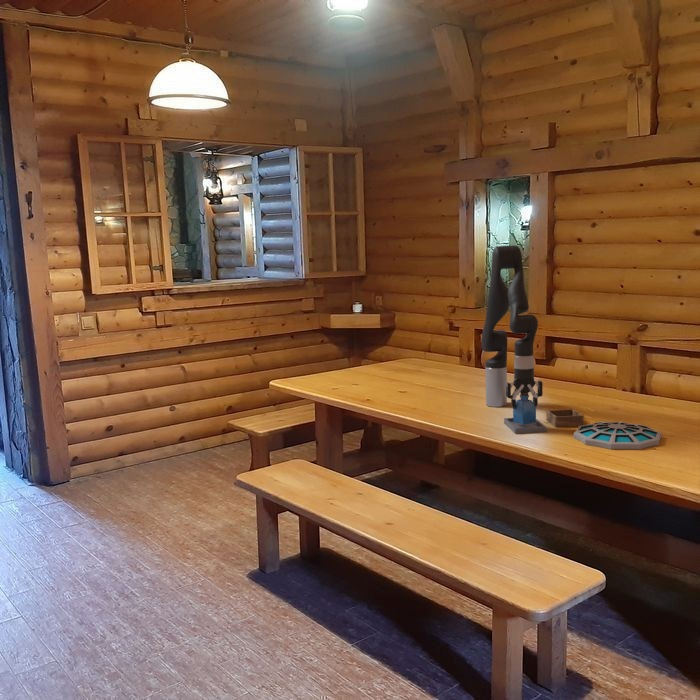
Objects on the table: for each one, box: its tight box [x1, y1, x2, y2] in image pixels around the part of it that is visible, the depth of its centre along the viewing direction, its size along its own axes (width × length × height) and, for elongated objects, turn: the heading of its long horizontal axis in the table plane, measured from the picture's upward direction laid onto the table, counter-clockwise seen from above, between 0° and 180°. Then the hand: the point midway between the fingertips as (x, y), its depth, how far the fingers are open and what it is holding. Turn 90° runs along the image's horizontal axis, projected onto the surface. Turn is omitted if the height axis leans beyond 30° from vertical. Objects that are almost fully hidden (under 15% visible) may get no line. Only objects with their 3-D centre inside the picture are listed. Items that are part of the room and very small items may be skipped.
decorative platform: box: [573, 421, 663, 450], centre depth 265 cm, size 31×29×5 cm
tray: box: [503, 417, 547, 435], centre depth 284 cm, size 16×12×2 cm
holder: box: [545, 408, 585, 428], centre depth 288 cm, size 11×11×4 cm
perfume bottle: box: [512, 392, 537, 425], centre depth 283 cm, size 6×6×12 cm
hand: (524, 407), depth 283 cm, fingers closed on perfume bottle, 7 cm apart
